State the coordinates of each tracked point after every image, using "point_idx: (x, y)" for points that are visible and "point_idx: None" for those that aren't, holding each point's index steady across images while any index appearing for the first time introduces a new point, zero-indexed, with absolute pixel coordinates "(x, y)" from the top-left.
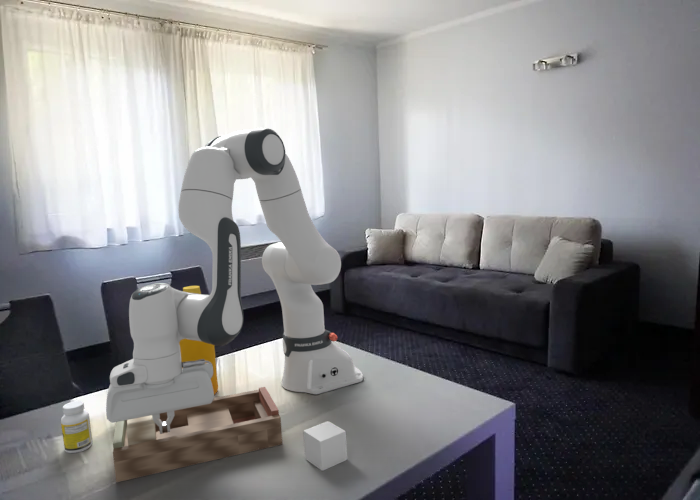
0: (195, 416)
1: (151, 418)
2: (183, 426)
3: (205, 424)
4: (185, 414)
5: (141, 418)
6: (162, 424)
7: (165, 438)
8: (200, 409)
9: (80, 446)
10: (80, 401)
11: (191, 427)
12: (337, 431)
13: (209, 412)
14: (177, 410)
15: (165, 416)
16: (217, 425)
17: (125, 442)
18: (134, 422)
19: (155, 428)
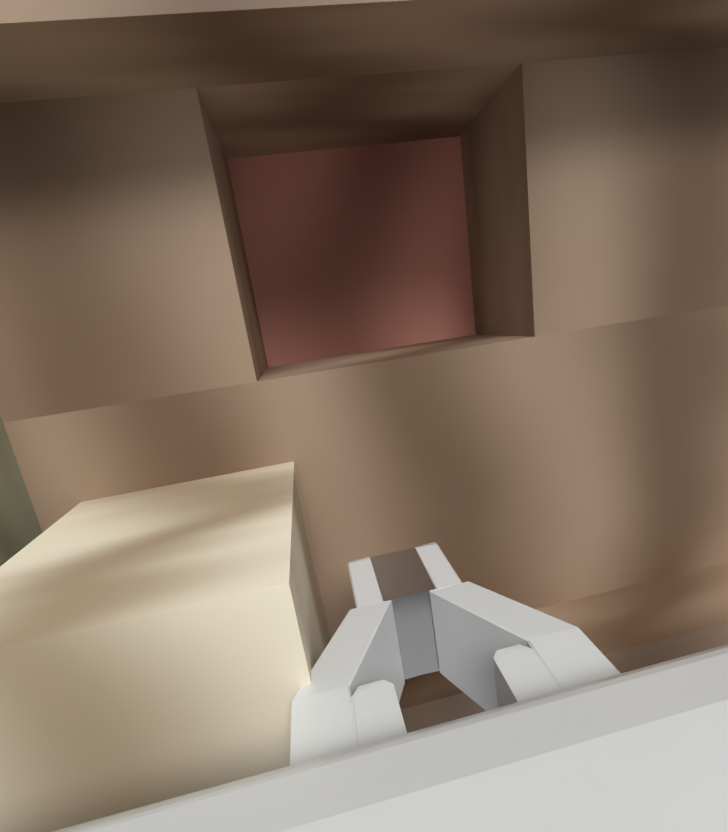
0: (594, 161)
1: (286, 733)
2: (496, 344)
3: (654, 365)
4: (509, 62)
5: (130, 715)
6: (400, 657)
7: (415, 711)
8: (662, 37)
9: None
10: None
11: (554, 382)
12: None
13: (710, 118)
14: (463, 28)
15: (321, 66)
16: (725, 409)
17: (40, 504)
18: (59, 821)
19: (293, 489)
